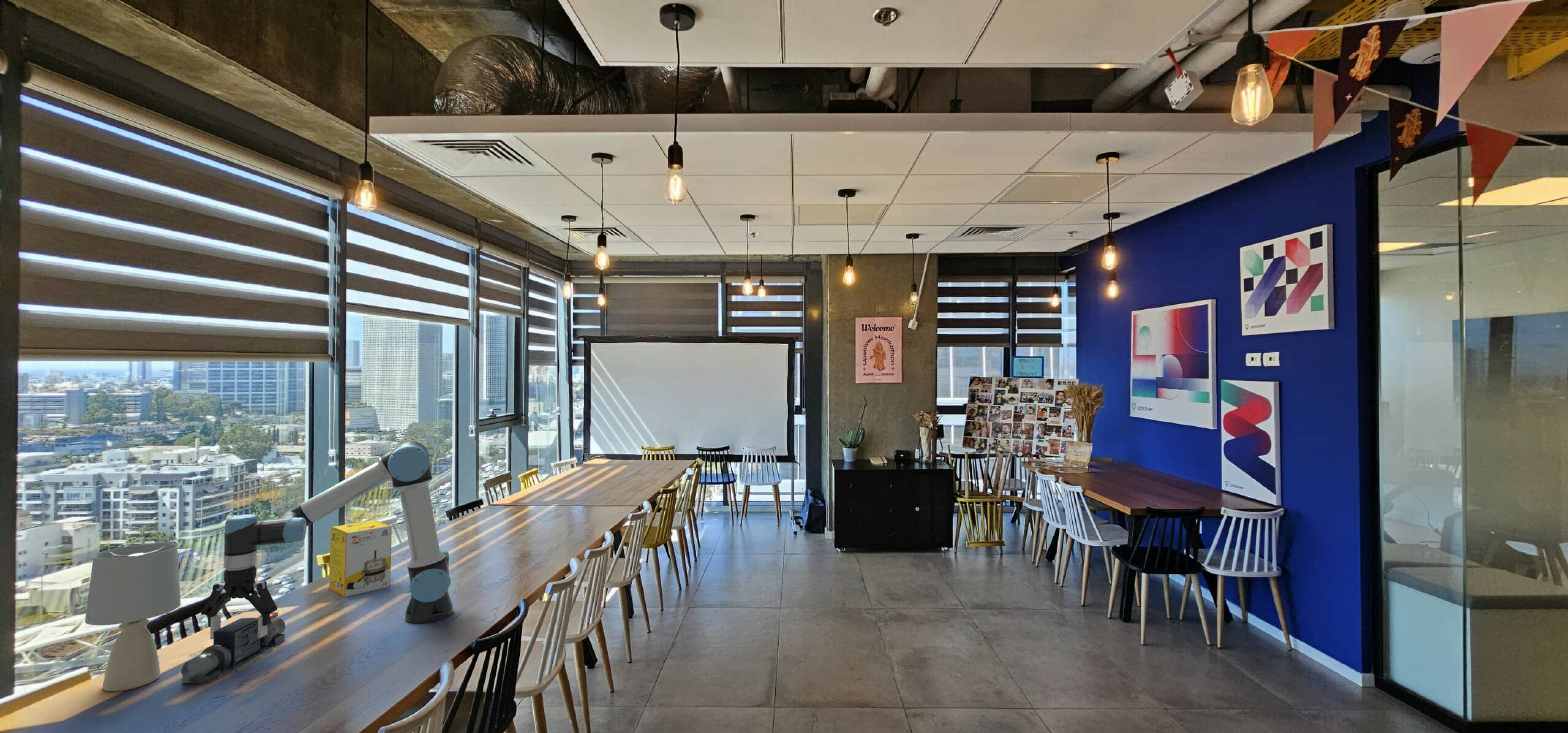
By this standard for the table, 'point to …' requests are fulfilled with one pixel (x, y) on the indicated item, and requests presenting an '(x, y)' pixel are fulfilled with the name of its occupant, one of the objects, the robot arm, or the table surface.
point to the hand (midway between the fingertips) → (239, 636)
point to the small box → (239, 639)
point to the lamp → (133, 607)
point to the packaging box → (360, 557)
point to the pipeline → (229, 656)
